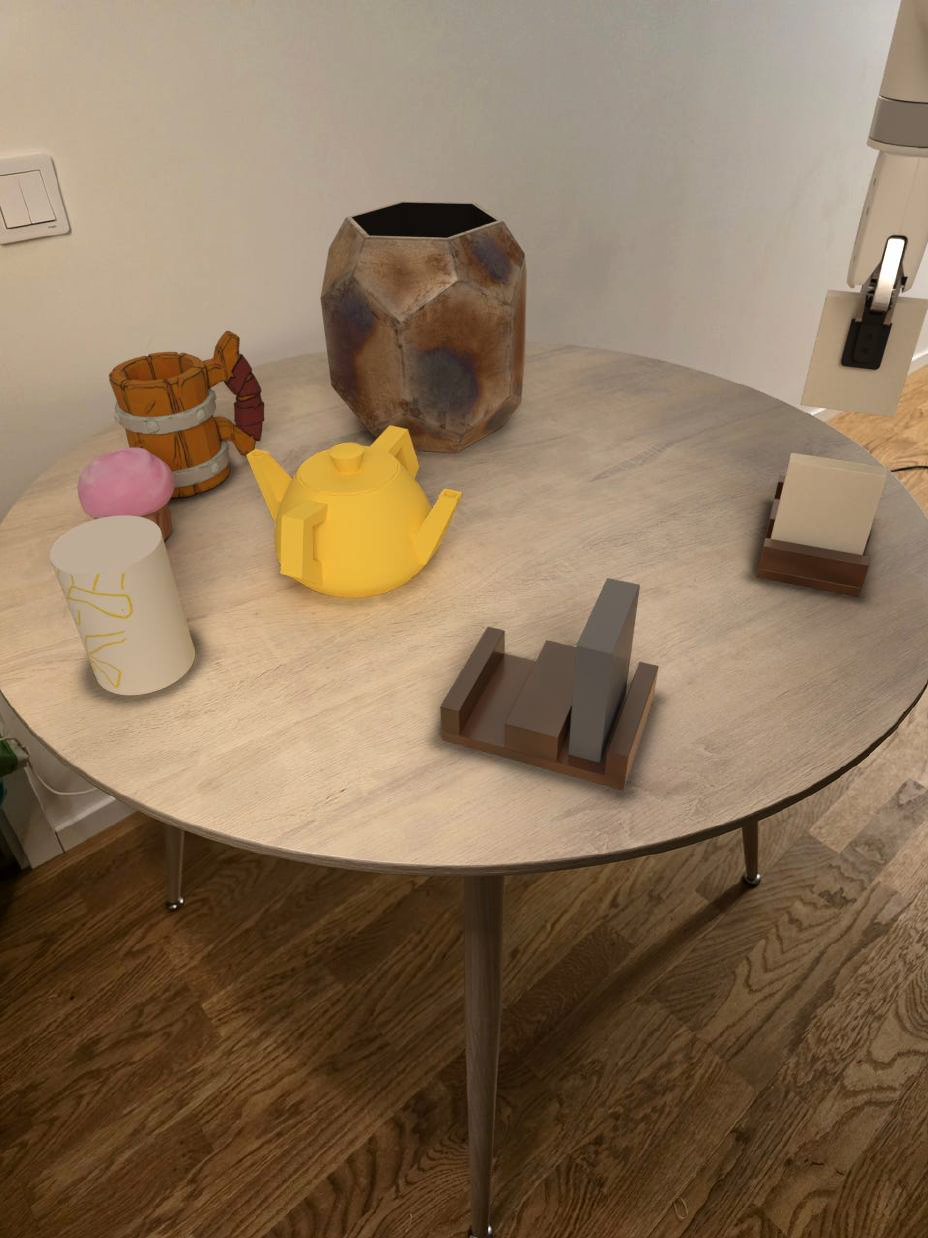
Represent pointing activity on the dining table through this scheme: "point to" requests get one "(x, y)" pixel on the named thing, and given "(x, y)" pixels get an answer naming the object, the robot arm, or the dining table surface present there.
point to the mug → (189, 411)
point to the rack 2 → (810, 562)
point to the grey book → (602, 669)
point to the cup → (124, 603)
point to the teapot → (354, 516)
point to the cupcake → (128, 487)
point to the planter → (427, 321)
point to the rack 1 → (539, 710)
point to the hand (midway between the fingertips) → (860, 359)
